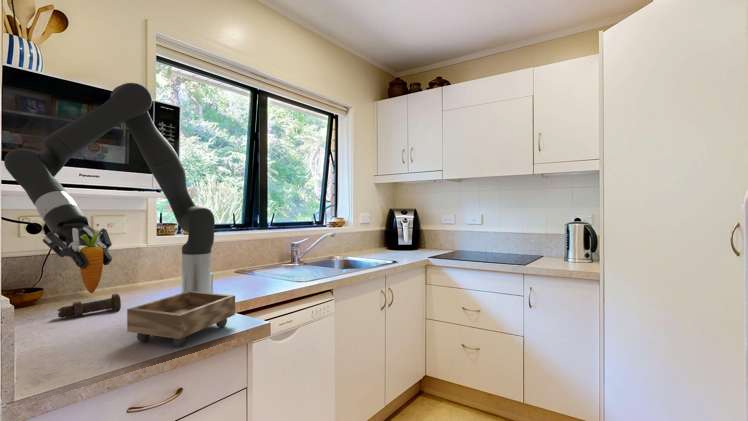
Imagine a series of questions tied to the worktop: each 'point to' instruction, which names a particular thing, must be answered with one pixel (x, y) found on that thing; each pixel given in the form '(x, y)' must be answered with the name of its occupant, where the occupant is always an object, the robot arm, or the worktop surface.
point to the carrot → (92, 263)
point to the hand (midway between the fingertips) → (97, 264)
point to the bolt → (90, 307)
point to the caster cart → (180, 315)
